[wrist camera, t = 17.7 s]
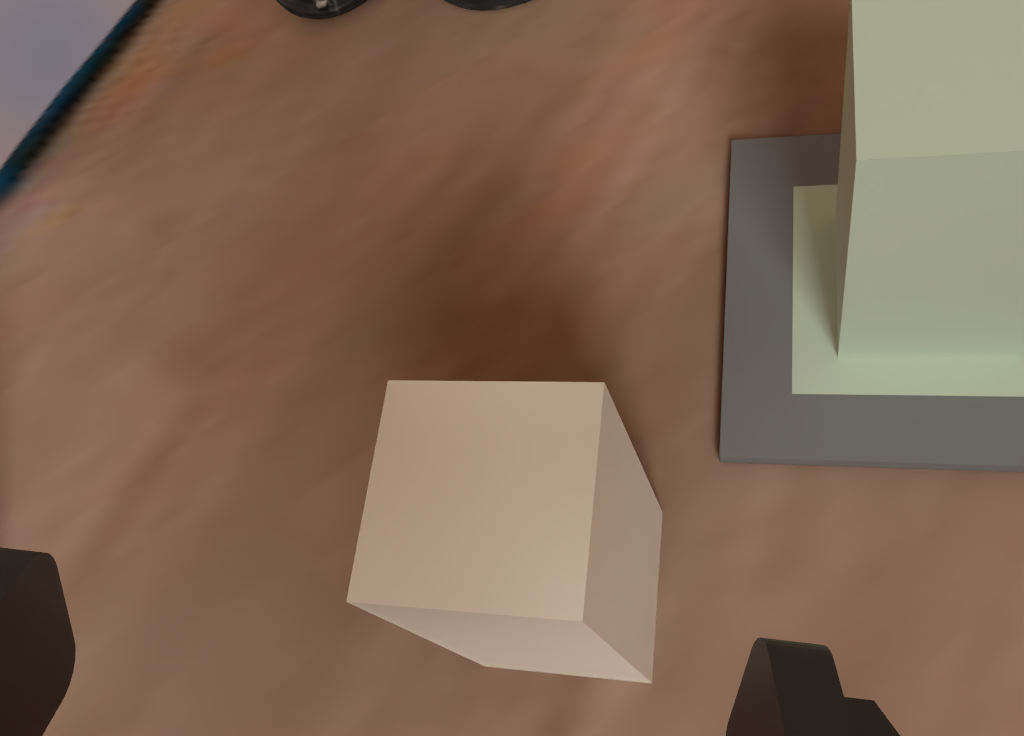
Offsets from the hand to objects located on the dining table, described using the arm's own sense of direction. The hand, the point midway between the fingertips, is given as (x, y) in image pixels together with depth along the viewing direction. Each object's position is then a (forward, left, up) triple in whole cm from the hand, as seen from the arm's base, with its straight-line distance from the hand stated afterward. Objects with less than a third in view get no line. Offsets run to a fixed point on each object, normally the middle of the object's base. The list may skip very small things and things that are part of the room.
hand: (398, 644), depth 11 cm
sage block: (-4, +19, -23) cm, 30 cm away
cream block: (-6, +2, -23) cm, 24 cm away
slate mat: (-4, +19, -23) cm, 30 cm away
